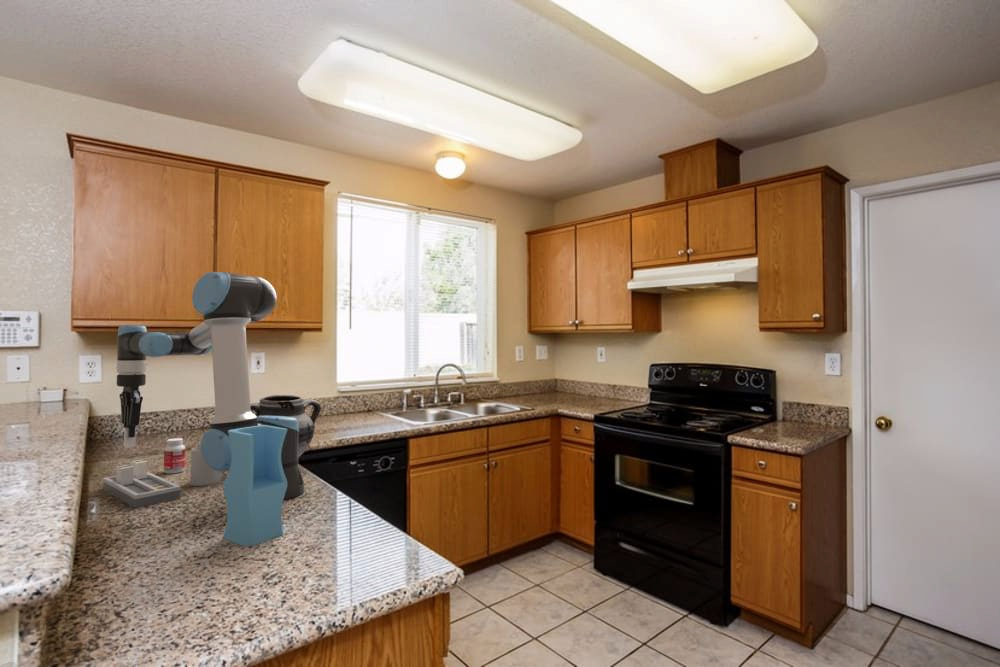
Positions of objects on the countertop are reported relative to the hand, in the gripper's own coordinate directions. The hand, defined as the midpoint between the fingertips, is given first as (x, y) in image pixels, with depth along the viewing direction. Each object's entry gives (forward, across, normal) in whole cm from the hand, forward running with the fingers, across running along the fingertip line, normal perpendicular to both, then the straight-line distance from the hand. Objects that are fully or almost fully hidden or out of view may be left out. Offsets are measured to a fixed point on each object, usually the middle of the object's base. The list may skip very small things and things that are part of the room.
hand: (129, 447), depth 162 cm
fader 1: (+8, -12, +5) cm, 16 cm away
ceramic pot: (+11, -18, -41) cm, 46 cm away
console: (+11, -18, +2) cm, 21 cm away
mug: (+11, -18, -16) cm, 27 cm away
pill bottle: (+11, +2, -14) cm, 18 cm away
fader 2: (+8, -8, 0) cm, 12 cm away
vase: (+10, -74, -3) cm, 75 cm away
